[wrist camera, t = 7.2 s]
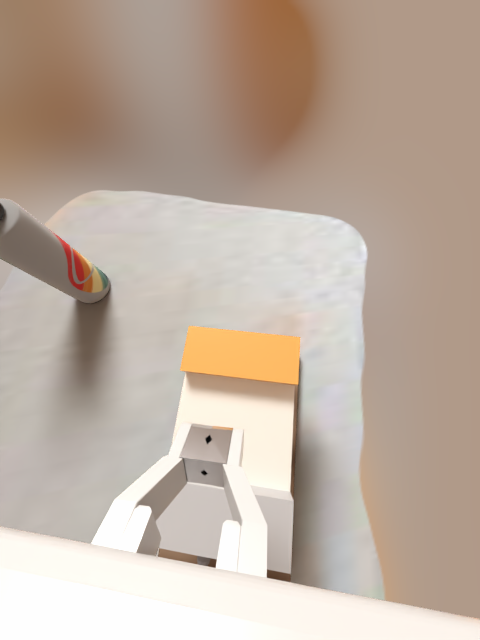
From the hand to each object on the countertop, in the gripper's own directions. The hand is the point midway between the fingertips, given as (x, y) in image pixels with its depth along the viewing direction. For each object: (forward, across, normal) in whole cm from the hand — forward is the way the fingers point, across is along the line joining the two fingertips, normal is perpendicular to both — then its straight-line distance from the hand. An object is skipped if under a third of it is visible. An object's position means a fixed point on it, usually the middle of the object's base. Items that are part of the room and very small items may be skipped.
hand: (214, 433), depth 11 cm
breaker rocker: (+7, 0, +9) cm, 11 cm away
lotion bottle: (+25, +26, +3) cm, 36 cm away
